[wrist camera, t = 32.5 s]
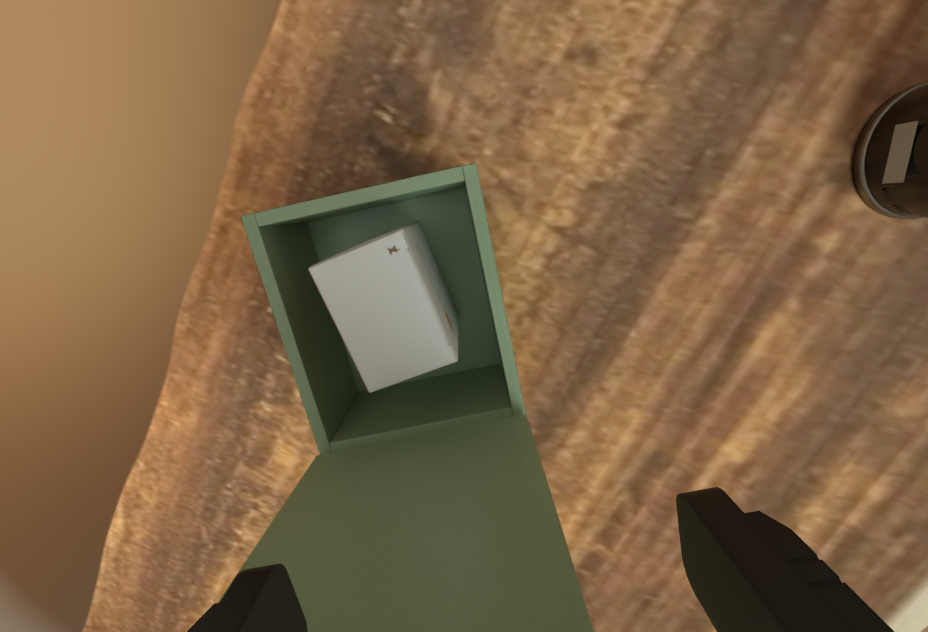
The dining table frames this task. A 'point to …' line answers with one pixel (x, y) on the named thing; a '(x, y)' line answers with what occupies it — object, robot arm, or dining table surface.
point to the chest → (320, 344)
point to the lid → (429, 537)
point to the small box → (390, 306)
